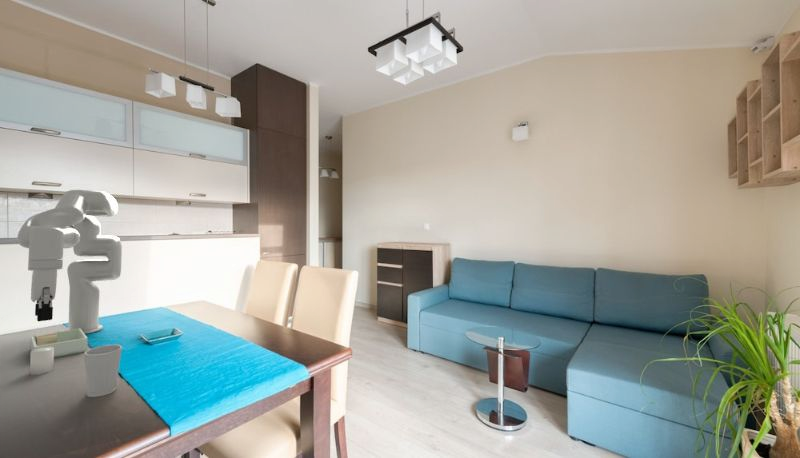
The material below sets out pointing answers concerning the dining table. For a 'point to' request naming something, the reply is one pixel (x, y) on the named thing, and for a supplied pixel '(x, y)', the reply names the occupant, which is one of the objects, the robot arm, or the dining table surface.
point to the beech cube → (46, 339)
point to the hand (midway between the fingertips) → (43, 317)
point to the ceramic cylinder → (41, 360)
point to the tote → (65, 342)
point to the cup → (102, 369)
